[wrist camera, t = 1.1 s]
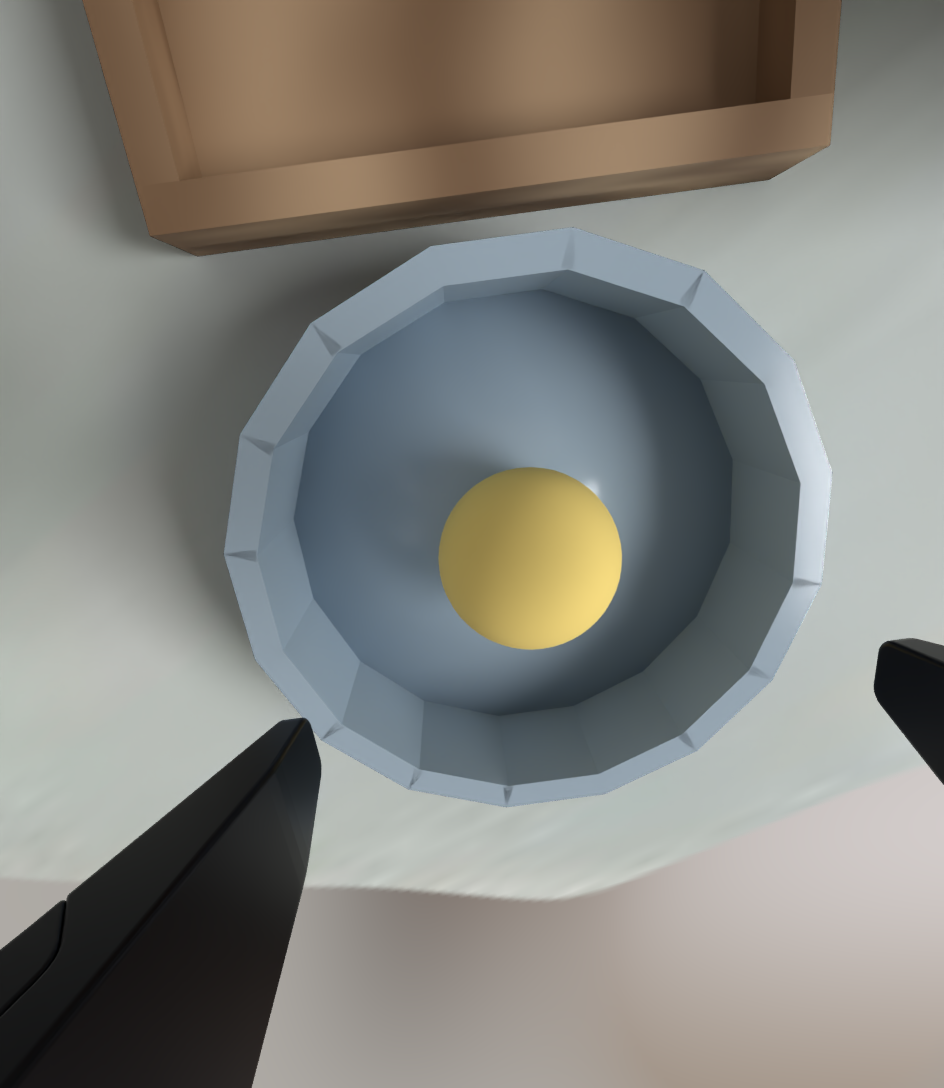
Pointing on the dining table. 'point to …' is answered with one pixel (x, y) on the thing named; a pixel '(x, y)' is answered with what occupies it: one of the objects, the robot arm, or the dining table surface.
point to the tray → (450, 107)
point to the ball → (530, 558)
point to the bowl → (516, 442)
